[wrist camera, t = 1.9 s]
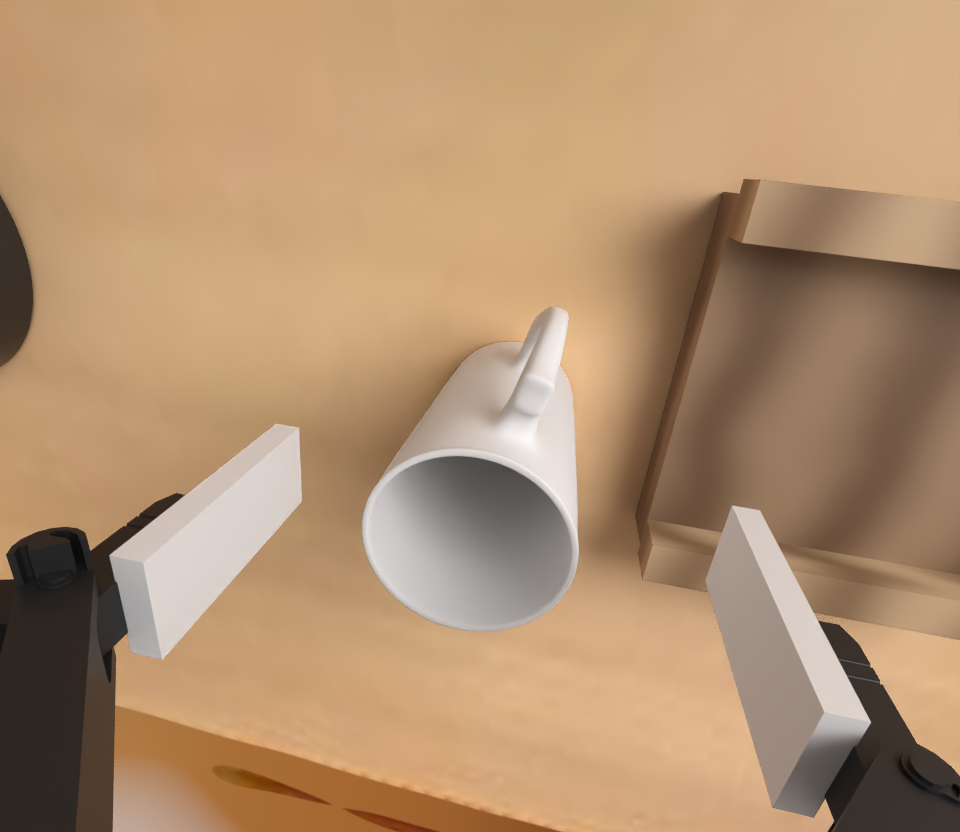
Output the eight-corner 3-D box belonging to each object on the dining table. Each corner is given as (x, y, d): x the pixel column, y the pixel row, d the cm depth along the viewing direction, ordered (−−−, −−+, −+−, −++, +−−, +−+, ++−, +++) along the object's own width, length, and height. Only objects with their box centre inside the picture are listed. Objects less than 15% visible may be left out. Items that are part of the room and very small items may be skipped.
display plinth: (633, 523, 29) (642, 579, 25) (726, 178, 22) (760, 179, 18) (953, 580, 27) (1019, 651, 23) (1168, 227, 20) (1317, 241, 16)
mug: (544, 478, 29) (524, 661, 18) (428, 429, 29) (338, 583, 18) (635, 305, 24) (680, 409, 14) (497, 246, 24) (435, 304, 14)
